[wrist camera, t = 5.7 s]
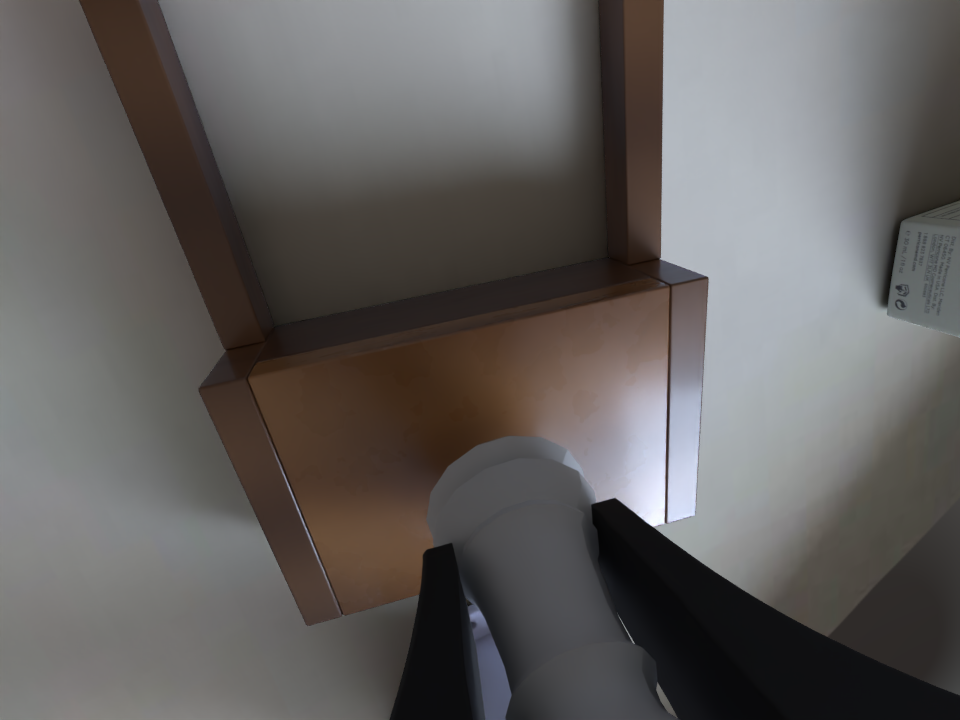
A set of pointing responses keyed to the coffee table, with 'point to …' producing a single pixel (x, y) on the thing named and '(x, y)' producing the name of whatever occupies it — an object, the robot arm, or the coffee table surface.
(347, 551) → the brown u-shaped piece
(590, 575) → the rook chess piece
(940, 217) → the cosmetic box
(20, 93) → the coffee table surface
